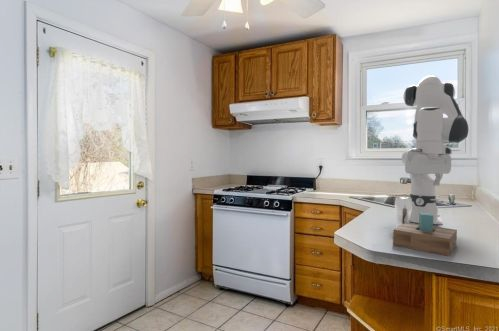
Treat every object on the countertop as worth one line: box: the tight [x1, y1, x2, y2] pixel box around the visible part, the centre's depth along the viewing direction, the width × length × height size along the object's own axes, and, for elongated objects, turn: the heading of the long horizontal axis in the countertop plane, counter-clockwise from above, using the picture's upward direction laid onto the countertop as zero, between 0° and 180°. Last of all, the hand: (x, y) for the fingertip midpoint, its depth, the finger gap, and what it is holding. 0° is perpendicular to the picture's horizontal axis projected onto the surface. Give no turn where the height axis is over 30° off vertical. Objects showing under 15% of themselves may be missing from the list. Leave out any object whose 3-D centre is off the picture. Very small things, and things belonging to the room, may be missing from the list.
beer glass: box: [394, 196, 412, 229], centre depth 140 cm, size 7×7×15 cm
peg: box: [418, 213, 434, 232], centre depth 116 cm, size 4×4×12 cm
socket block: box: [392, 222, 458, 257], centre depth 116 cm, size 18×18×6 cm
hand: (427, 185), depth 116 cm, fingers open, 8 cm apart
